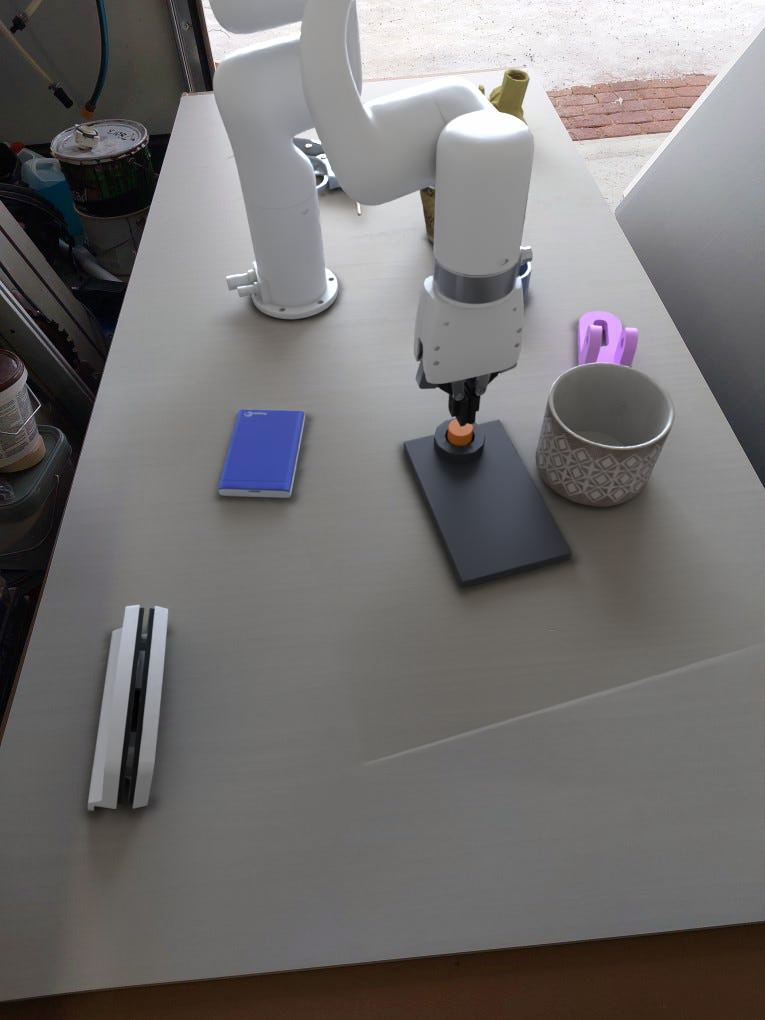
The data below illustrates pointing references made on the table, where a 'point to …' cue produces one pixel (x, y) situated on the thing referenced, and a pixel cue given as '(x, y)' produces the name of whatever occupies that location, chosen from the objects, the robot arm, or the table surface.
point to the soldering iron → (319, 164)
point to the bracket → (617, 340)
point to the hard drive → (263, 454)
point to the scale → (485, 505)
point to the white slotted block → (130, 710)
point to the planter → (603, 433)
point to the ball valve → (510, 93)
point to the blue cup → (525, 278)
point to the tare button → (459, 433)
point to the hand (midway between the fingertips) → (462, 416)
